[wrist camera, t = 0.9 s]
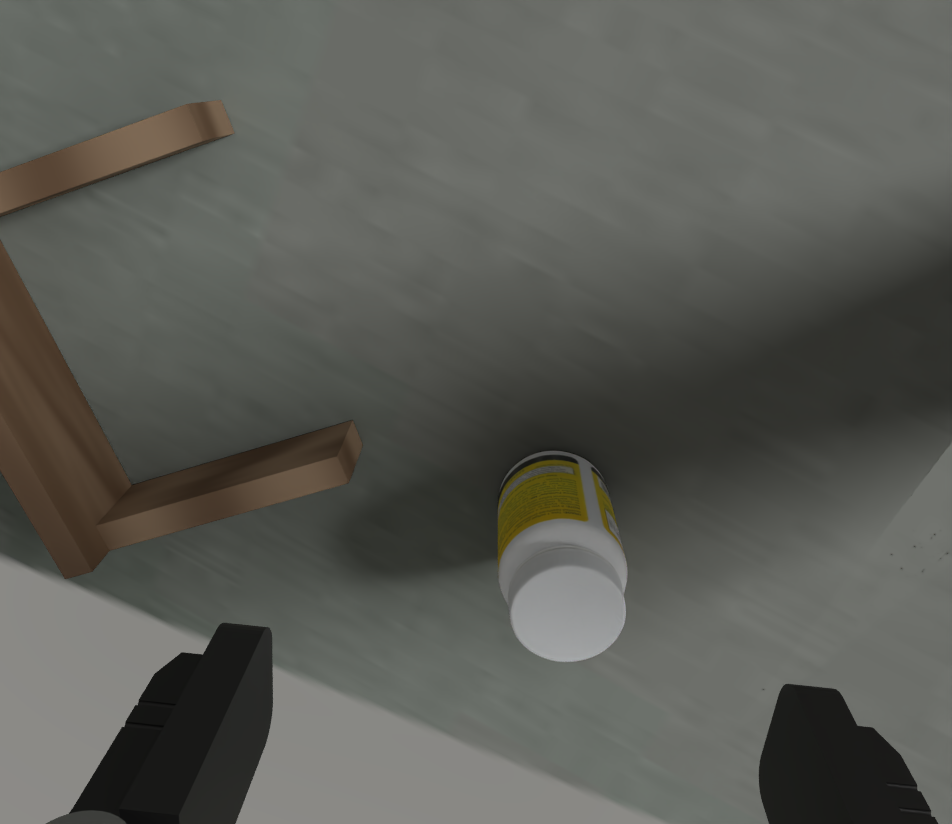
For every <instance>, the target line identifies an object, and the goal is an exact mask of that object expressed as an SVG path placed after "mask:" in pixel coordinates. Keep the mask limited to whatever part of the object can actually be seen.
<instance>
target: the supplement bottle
mask: <svg viewBox="0 0 952 824" xmlns="http://www.w3.org/2000/svg"><path fill="white" fill-rule="evenodd" d="M498 579H499V585H500V588H501V592H502V594H503V596H504V598H505V600H506V602H507V603H508V607H509V614H510V622H511V626H512V629H513V631H514V633H515V635H516V637H517V638H518V640H519V641H520V642H521V643H522V644H523V645H524V646H525V647H526V648H527V649H528V650H530V651H531V652H532V653H534V654H536V655H538V656H540V657H542V658H545V659H549V660H553V661H559V662H572V661H580V660H585V659H588V658H591V657H593V656H596V655H598V654H599V653H601V652H603V651H604V650H605V649H607V648H608V647H609V646H610V645H611V644H612V643H613V642H614V641H615V640H616V639H617V637H618V636H619V634H620V632H621V630H622V628H623V626H624V622H625V617H626V605H625V599H624V591H625V588H626V584H627V562H626V558H625V554H624V550H623V547H622V543H621V539H620V535H619V531H618V527H617V523H616V519H615V515H614V512H613V508H612V504H611V500H610V496H609V492H608V489H607V486H606V483H605V481H604V479H603V477H602V475H601V474H600V472H599V471H598V470H597V469H596V468H595V467H594V466H593V465H592V464H591V463H590V462H588V461H587V460H585V459H584V458H582V457H579V456H577V455H574V454H571V453H568V452H563V451H543V452H539V453H535V454H533V455H530V456H528V457H526V458H524V459H523V460H521V461H520V462H518V463H517V464H516V465H515V466H514V467H513V468H512V469H511V470H510V471H509V472H508V474H507V475H506V477H505V478H504V480H503V482H502V485H501V488H500V491H499V496H498Z"/></svg>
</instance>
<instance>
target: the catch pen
mask: <svg viewBox="0 0 952 824" xmlns="http://www.w3.org/2000/svg"><path fill="white" fill-rule="evenodd" d="M231 134H234V131H233V128H232V126H231V123H230V121H229V118H228V116H227V114H226V111H225V109H224V106H223V104H222V101H221V100H219V101H210V102H200V103H191V104H186V105H183V106H180V107H177V108H175V109H172V110H169V111H166V112H164V113H161V114H158V115H155V116H153V117H150V118H147V119H145V120H142V121H139V122H136V123H134V124H131V125H128V126H125V127H123V128H120V129H117V130H114V131H112V132H109V133H106V134H103V135H101V136H98V137H95V138H92V139H90V140H87V141H84V142H82V143H79V144H76V145H73V146H71V147H68V148H65V149H62V150H60V151H57V152H54V153H51V154H49V155H46V156H43V157H40V158H38V159H35V160H32V161H29V162H27V163H24V164H21V165H19V166H16V167H13V168H10V169H8V170H5V171H2V172H0V217H1V216H4V215H7V214H10V213H12V212H15V211H18V210H21V209H24V208H26V207H29V206H32V205H35V204H38V203H41V202H43V201H46V200H49V199H52V198H55V197H57V196H60V195H63V194H66V193H69V192H71V191H74V190H77V189H80V188H83V187H85V186H88V185H91V184H94V183H97V182H100V181H102V180H105V179H108V178H111V177H114V176H116V175H119V174H122V173H125V172H128V171H130V170H133V169H136V168H139V167H142V166H144V165H147V164H150V163H153V162H156V161H158V160H161V159H164V158H167V157H170V156H173V155H175V154H178V153H181V152H184V151H187V150H189V149H192V148H195V147H198V146H201V145H203V144H206V143H209V142H212V141H215V140H217V139H220V138H223V137H226V136H229V135H231ZM362 446H363V444H362V441H361V439H360V437H359V434H358V432H357V429H356V427H355V424H354V422H353V420H352V421H348V422H345V423H341V424H338V425H335V426H331V427H328V428H324V429H321V430H318V431H314V432H311V433H307V434H304V435H301V436H297V437H294V438H290V439H287V440H284V441H280V442H277V443H273V444H270V445H267V446H263V447H260V448H256V449H253V450H250V451H246V452H243V453H239V454H236V455H233V456H229V457H226V458H222V459H219V460H216V461H212V462H209V463H205V464H202V465H199V466H195V467H192V468H189V469H185V470H182V471H178V472H175V473H172V474H168V475H165V476H161V477H158V478H155V479H151V480H148V481H144V482H141V483H138V484H134V485H131V483H130V481H129V479H128V477H127V475H126V473H125V472H124V470H123V468H122V466H121V464H120V462H119V460H118V459H117V457H116V455H115V453H114V451H113V449H112V447H111V446H110V444H109V442H108V440H107V438H106V436H105V434H104V432H103V431H102V429H101V427H100V425H99V423H98V421H97V419H96V418H95V416H94V414H93V412H92V410H91V408H90V406H89V405H88V403H87V401H86V399H85V397H84V395H83V393H82V391H81V390H80V388H79V386H78V384H77V382H76V380H75V378H74V377H73V375H72V373H71V371H70V369H69V367H68V365H67V364H66V362H65V360H64V358H63V356H62V354H61V352H60V350H59V349H58V347H57V345H56V343H55V341H54V339H53V337H52V336H51V334H50V332H49V330H48V328H47V326H46V324H45V323H44V321H43V319H42V317H41V315H40V313H39V311H38V309H37V308H36V306H35V304H34V302H33V300H32V298H31V296H30V295H29V293H28V291H27V289H26V287H25V285H24V283H23V281H22V280H21V278H20V276H19V274H18V272H17V270H16V268H15V267H14V265H13V263H12V261H11V259H10V257H9V255H8V254H7V252H6V250H5V248H4V246H3V244H2V242H1V240H0V471H1V473H2V474H3V476H4V478H5V479H6V481H7V483H8V484H9V486H10V488H11V489H12V491H13V493H14V494H15V496H16V498H17V499H18V501H19V503H20V504H21V506H22V508H23V509H24V511H25V513H26V515H27V516H28V518H29V520H30V521H31V523H32V525H33V526H34V528H35V530H36V531H37V533H38V535H39V536H40V538H41V540H42V541H43V543H44V545H45V546H46V548H47V550H48V551H49V553H50V555H51V556H52V558H53V560H54V561H55V563H56V565H57V566H58V568H59V570H60V571H61V573H62V575H63V576H64V578H65V579H68V578H71V577H75V576H78V575H82V574H86V573H89V572H93V570H94V569H95V568H96V567H97V565H98V564H99V563H100V562H101V561H102V559H103V558H104V557H105V556H106V554H107V553H108V552H109V551H110V550H114V549H117V548H121V547H124V546H128V545H132V544H135V543H139V542H142V541H146V540H149V539H153V538H156V537H160V536H163V535H167V534H170V533H174V532H178V531H181V530H185V529H188V528H192V527H195V526H199V525H202V524H206V523H209V522H213V521H216V520H220V519H224V518H227V517H231V516H234V515H238V514H241V513H245V512H248V511H252V510H255V509H259V508H262V507H266V506H269V505H273V504H277V503H280V502H284V501H287V500H291V499H294V498H298V497H301V496H305V495H308V494H312V493H315V492H319V491H323V490H326V489H330V488H333V487H337V486H340V485H344V484H347V483H349V481H350V479H351V476H352V473H353V470H354V468H355V465H356V462H357V460H358V457H359V454H360V452H361V449H362Z"/></svg>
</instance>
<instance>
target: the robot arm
mask: <svg viewBox="0 0 952 824" xmlns="http://www.w3.org/2000/svg"><path fill="white" fill-rule="evenodd" d="M272 682H273V677H272V633H271V630H270V628H269V627H259V626H250V625H240V624H231V623H222V624H220V626H219V627H218V628H217V630H216V632H215V634H214V635H213V637H212V639H211V641H210V643H209V645H208V646H207V648H206V651H205V652H204V654H203V655H201V654H192V653H181V654H179V655H178V656H177V657H175V658H174V659H173V660H172V661H170V662H169V663H168V664H167V665H165V666H164V667H163V668H161V669H160V670H159V671H158V672H157V673H155V674H154V676H153V677H152V679H151V681H150V682H149V684H148V686H147V687H146V689H145V691H144V692H143V694H142V695H141V697H140V699H139V703H138V705H135V707H134V709H133V710H132V712H131V714H130V715H129V717H128V718H127V720H126V723H125V727H122V728H121V730H120V732H119V733H118V735H117V736H116V738H115V740H114V741H113V743H112V745H111V746H110V748H109V750H108V751H107V753H106V755H105V756H104V758H103V759H102V761H101V763H100V765H99V766H98V768H97V769H96V771H95V773H94V774H93V776H92V778H91V779H90V781H89V783H88V784H87V786H86V787H85V789H84V791H83V792H82V794H81V796H80V797H79V799H78V801H77V802H76V804H75V805H74V807H73V809H72V810H71V812H70V813H69V814H67V815H64V816H61V817H58V818H56V819H54V820H52V821H50V822H48V823H46V824H235V823H236V821H237V818H238V815H239V813H240V810H241V808H242V805H243V802H244V800H245V797H246V794H247V792H248V789H249V787H250V784H251V781H252V779H253V776H254V773H255V771H256V768H257V766H258V763H259V760H260V758H261V755H262V753H263V750H264V747H265V744H266V741H267V737H268V733H269V729H270V724H271V717H272V707H273V685H272V684H273V683H272ZM759 787H760V794H761V799H762V803H763V806H764V809H765V812H766V815H767V818H768V821H769V824H938V822H937V821H936V819H935V817H932V816H931V810H930V808H929V806H928V804H927V802H926V800H925V799H924V797H923V795H922V793H921V792H920V791H918V790H917V784H916V782H915V780H914V778H913V777H912V775H911V773H910V771H909V769H908V768H907V766H906V764H905V762H904V760H903V758H902V757H901V755H900V754H899V753H898V752H897V751H896V750H895V749H894V748H893V747H892V746H891V745H890V744H889V743H888V742H887V741H886V740H885V739H884V738H883V737H882V736H881V735H880V734H879V733H878V732H877V731H876V730H875V729H874V728H872V727H862V726H857V724H856V722H855V720H854V718H853V716H852V714H851V712H850V710H849V708H848V707H847V705H846V703H845V701H844V699H843V697H842V695H841V694H840V692H839V691H837V690H836V689H831V688H822V687H812V686H803V685H793V684H785V685H784V686H783V687H782V689H781V691H780V693H779V696H778V700H777V703H776V706H775V710H774V713H773V717H772V720H771V724H770V727H769V731H768V734H767V738H766V741H765V744H764V748H763V751H762V755H761V759H760V766H759Z"/></svg>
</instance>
